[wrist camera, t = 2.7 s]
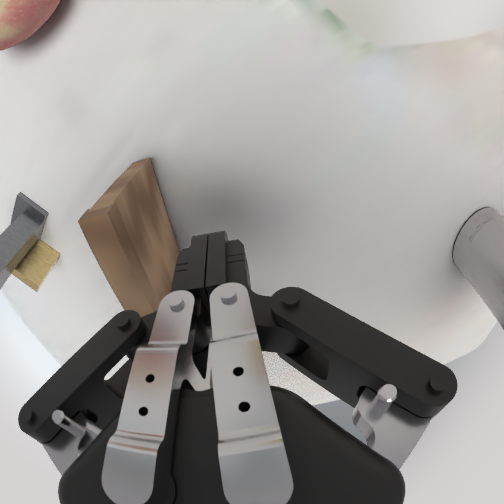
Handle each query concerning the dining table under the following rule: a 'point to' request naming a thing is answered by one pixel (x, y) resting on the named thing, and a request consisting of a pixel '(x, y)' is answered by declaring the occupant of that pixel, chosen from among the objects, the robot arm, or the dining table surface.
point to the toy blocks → (26, 245)
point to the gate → (134, 240)
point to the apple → (22, 19)
